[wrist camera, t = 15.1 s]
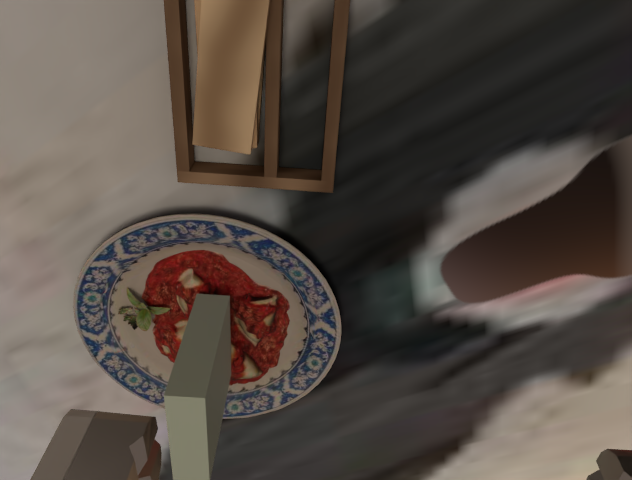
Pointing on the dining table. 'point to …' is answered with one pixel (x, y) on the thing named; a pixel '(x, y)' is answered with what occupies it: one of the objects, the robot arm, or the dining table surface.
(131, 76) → the dining table surface
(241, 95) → the offcut stack
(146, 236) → the ceramic plate
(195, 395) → the grey-green rectangular block
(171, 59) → the walnut rack
